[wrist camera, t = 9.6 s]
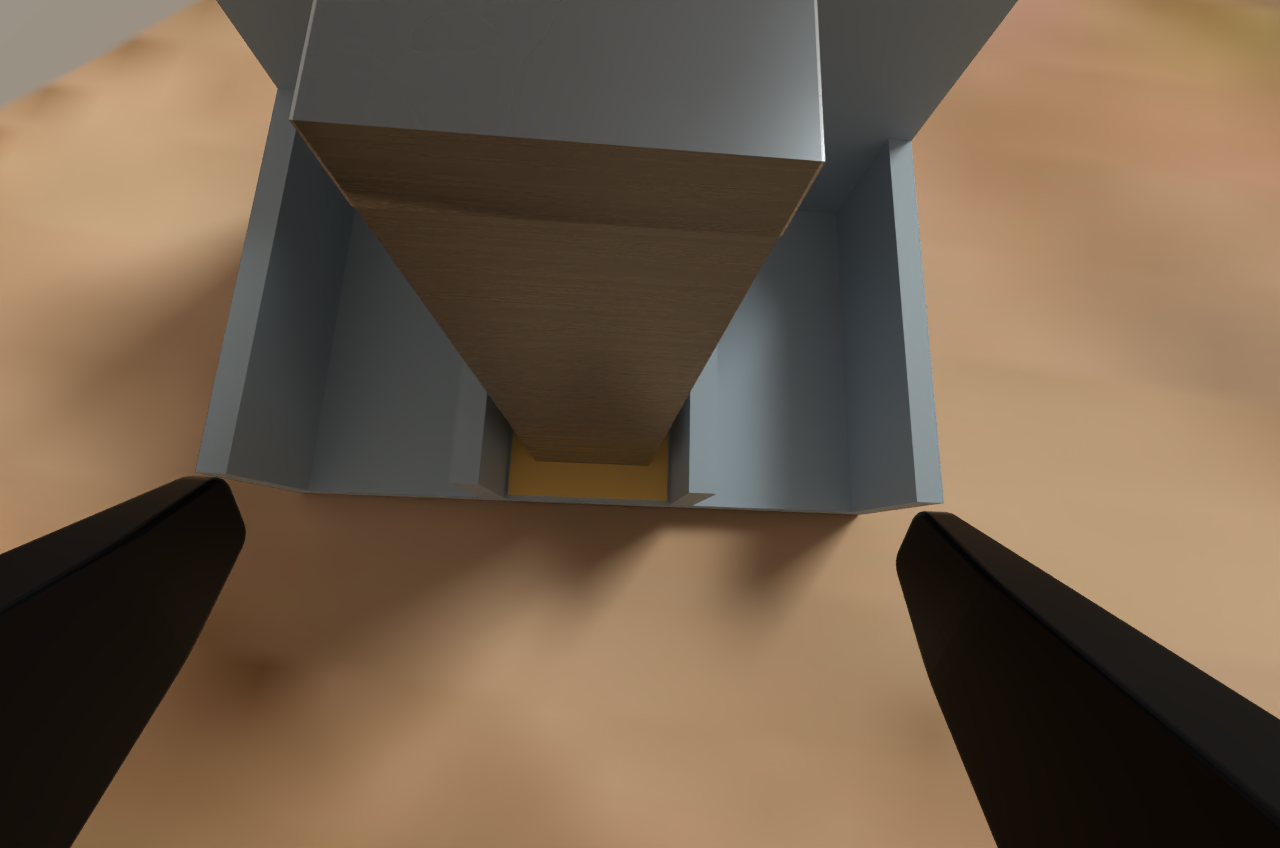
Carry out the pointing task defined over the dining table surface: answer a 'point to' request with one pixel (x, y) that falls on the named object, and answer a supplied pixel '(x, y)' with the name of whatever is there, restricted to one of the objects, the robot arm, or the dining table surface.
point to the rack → (728, 385)
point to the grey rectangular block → (571, 185)
